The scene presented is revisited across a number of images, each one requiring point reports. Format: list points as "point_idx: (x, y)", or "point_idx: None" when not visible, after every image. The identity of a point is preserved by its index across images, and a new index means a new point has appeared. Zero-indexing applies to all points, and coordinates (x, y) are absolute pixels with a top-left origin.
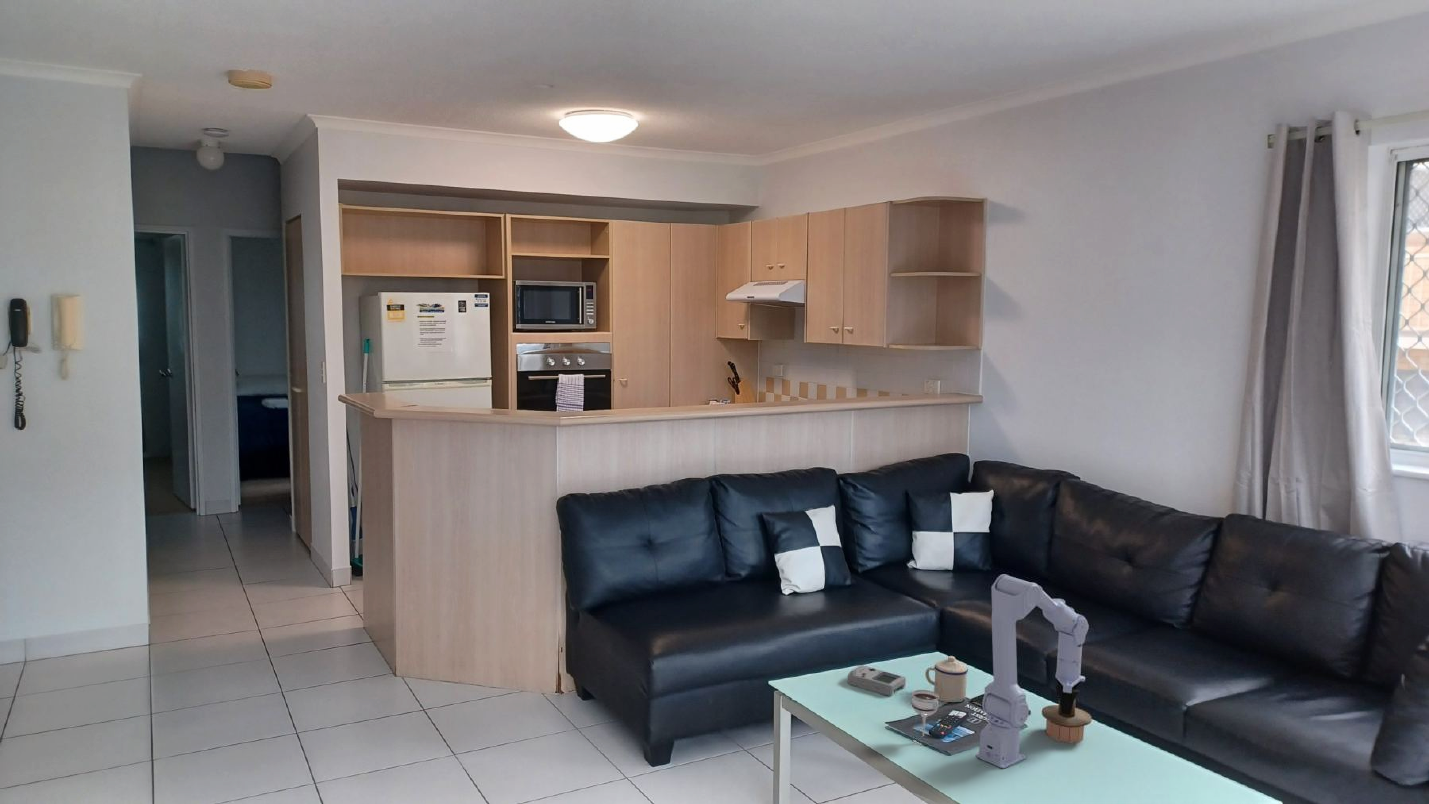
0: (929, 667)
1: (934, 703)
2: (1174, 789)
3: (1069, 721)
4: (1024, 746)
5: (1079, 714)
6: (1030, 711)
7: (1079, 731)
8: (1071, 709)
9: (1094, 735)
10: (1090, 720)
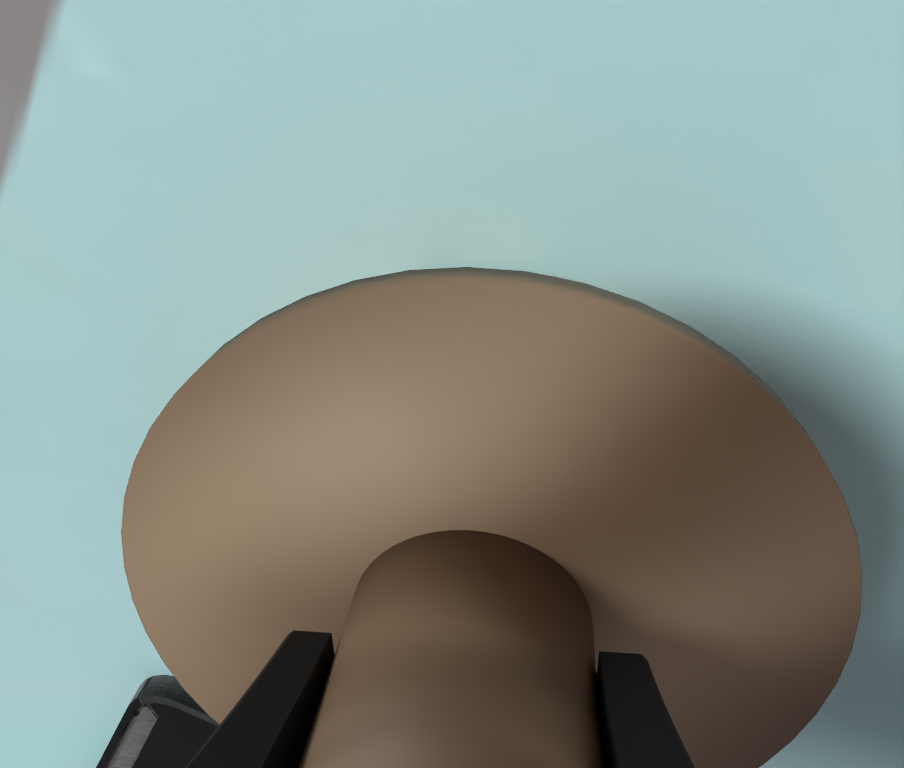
0: None
1: None
2: None
3: (761, 607)
4: (894, 739)
5: (379, 464)
6: (156, 696)
7: None
8: (673, 730)
9: (340, 131)
10: (595, 305)
